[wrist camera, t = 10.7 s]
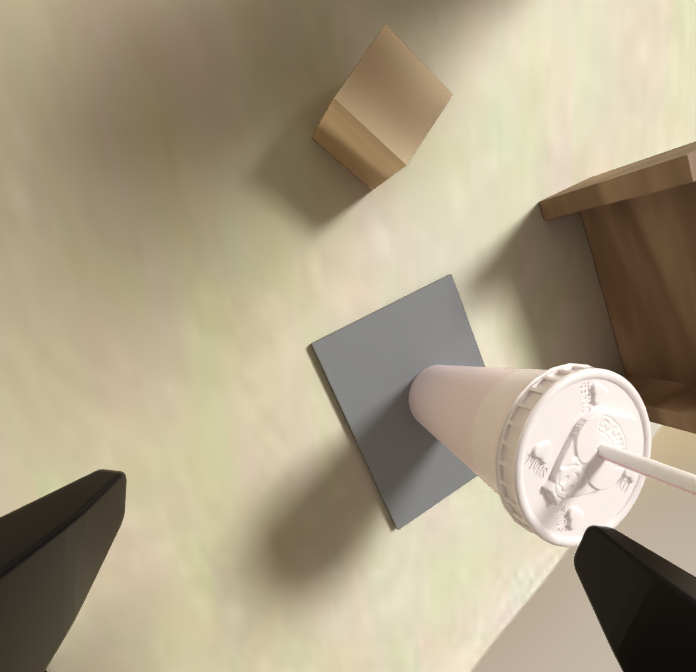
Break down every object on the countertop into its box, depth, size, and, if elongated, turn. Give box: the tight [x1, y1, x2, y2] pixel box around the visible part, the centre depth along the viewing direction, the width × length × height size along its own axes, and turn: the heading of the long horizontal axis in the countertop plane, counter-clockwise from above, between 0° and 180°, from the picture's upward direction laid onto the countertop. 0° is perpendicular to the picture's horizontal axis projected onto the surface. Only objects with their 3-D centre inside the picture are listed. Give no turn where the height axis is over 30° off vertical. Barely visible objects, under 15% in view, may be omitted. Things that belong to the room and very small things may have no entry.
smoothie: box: [409, 363, 696, 547], centre depth 16 cm, size 6×6×14 cm
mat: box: [311, 274, 485, 530], centre depth 22 cm, size 9×12×1 cm
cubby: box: [539, 142, 696, 434], centre depth 22 cm, size 5×15×8 cm, turn 25°
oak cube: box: [311, 24, 452, 190], centre depth 18 cm, size 4×4×4 cm
